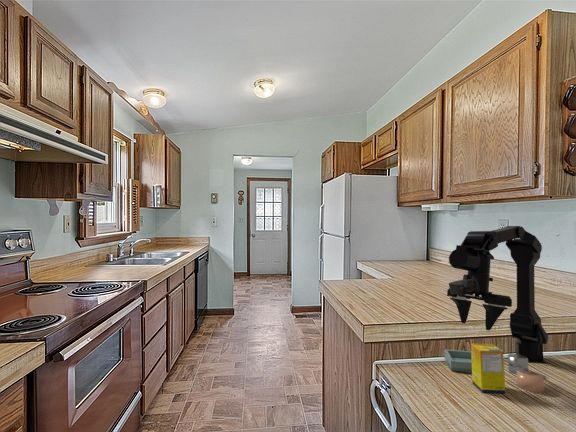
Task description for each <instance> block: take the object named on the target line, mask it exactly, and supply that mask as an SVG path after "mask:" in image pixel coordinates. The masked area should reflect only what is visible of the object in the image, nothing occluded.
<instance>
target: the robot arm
mask: <svg viewBox="0 0 576 432" xmlns="http://www.w3.org/2000/svg"><path fill="white" fill-rule="evenodd" d="M504 242H505V246H506V247H507V248H508V250H509V251H510V258H511V259H512V260H513V262H514V263H515V264H516V309H515V310H514V311H512V312H510V314H509V329H510V333H511V337H512V338H514V339H517V340H516V342H515V354H518V355H522V356H525V357H527V358H528V362H532V363H533V362H534V363H543V364H545V363H547V360H546V359H544V345H547V344H548V342H549V335H548V333H547V332H546V330H545V329H544V327H543V325H542V319H541V317H540V316H539V314H538V313H537V311H536V307H535V302H536V301H535V299H536V298H535V294H536V293H535V265H536V264H537V263H538V262H539V260H540V259H541V252H542V250H543V247H542V243H541V242H540V241H539V239H538V238H537V237H536V235H534V234H533V233H531V232H528V231H527V230H526V229H525V228H524V227H523V226H520V225H507V226H504V227H502V228H497V229H494V230H479V231H478V230H470V231H468V232H467V235H466V236H465V237H464V239H463V240H462V242H461V244H460V245H459V244H456V246H455V249H453V250H452V251H451V252H450V254H449V256H448V262H449V264H450V265H451V267H452V268H454V269H456V270H457V269H458V270H461V271H467V274H463V277H462V279H458V280H454V281H451V282H448V286H449V287H448V289H446V290H447V291H446V292H447V293H446V296H448V297H449V299H450V300H452V302H453V303H454V304H455V305H456V308H457V311H458V315H459V318H460V322H461V323H462V324H467V323H466V322H467V320H468V316H469V313H470V309H471V305H472V300H470V299H473V300H478V301H483V302H484V303H482V306H483V308H484V310H485V321H484V322H485V330H486V331H491V330H492V328H493V326H494V325H495V324H496V323H497V321H498V319H499V318H500V316H501V315H502V314H503V312H505V310H508V308H509V307H510V308H512V305H513V300H512V298H511V297H510V295H503V294H496V293H493V292H492V291H489V290H490V282H494V278H493V277H490V276H491V275H490V273H491V260H495V257H494V255H493V254H492V253H491V252H490V251H493V250H495V249H496V248H497V247H498V246H499V244H502V243H504Z"/></svg>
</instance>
